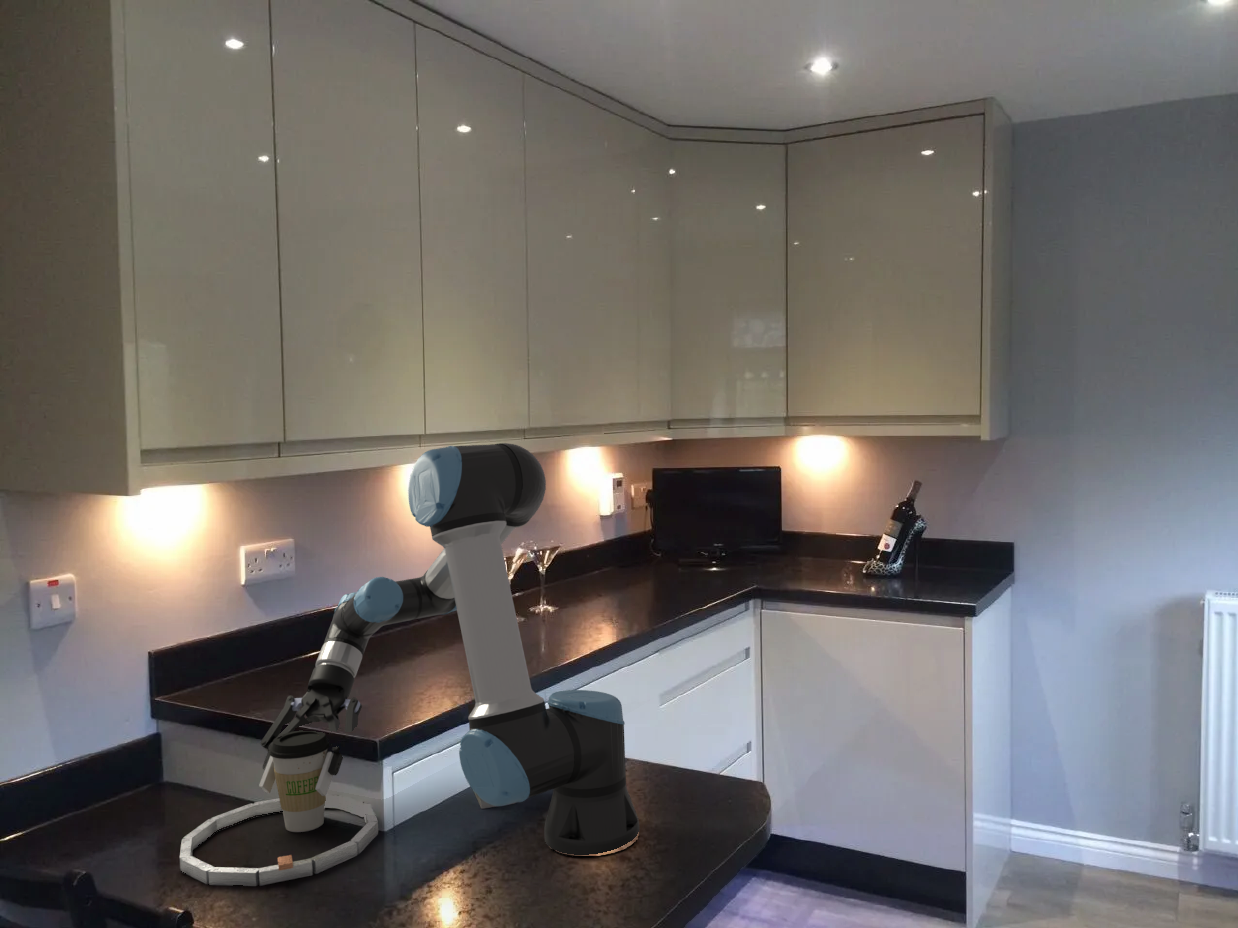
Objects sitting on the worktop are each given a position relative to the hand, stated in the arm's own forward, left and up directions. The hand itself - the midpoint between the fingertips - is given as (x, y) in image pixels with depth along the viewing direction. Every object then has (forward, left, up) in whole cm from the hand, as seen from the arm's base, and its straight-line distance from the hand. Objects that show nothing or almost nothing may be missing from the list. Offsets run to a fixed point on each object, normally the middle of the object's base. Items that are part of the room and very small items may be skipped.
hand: (292, 790), depth 167 cm
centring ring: (-3, +2, -7) cm, 8 cm away
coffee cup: (+3, -2, -7) cm, 8 cm away
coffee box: (-1, -34, -7) cm, 35 cm away
